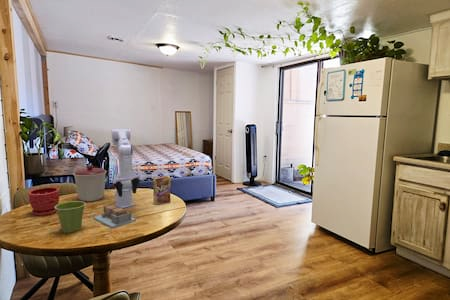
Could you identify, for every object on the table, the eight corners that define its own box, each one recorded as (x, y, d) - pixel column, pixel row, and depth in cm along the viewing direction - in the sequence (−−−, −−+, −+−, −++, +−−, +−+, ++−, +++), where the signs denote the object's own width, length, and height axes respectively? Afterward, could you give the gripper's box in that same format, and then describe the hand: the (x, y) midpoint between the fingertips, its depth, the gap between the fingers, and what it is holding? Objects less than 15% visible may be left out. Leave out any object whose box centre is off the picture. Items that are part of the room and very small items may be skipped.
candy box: (155, 205, 155) (155, 178, 153) (153, 203, 158) (152, 177, 156) (170, 202, 159) (170, 176, 158) (168, 200, 163) (167, 175, 161)
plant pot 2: (84, 233, 117) (82, 208, 116) (52, 237, 114) (50, 210, 112) (89, 223, 128) (88, 199, 127) (60, 226, 125) (58, 202, 124)
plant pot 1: (24, 214, 139) (22, 191, 138) (51, 207, 151) (49, 185, 150) (39, 219, 133) (37, 195, 132) (66, 211, 145) (64, 188, 143)
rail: (104, 215, 135) (103, 206, 135) (111, 213, 138) (111, 204, 138) (118, 223, 126) (118, 212, 126) (126, 220, 129) (126, 210, 129)
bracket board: (93, 218, 134) (92, 209, 133) (116, 212, 143) (116, 203, 143) (112, 228, 122) (111, 218, 122) (136, 220, 132) (135, 211, 131)
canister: (77, 196, 172) (75, 162, 169) (109, 193, 177) (107, 161, 174) (71, 205, 154) (68, 168, 152) (106, 202, 160) (104, 166, 157)
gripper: (116, 171, 131) (118, 199, 132) (143, 167, 142) (144, 193, 143) (109, 169, 135) (110, 196, 137) (135, 165, 146) (136, 190, 148)
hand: (127, 194), depth 140 cm, fingers open, 7 cm apart
